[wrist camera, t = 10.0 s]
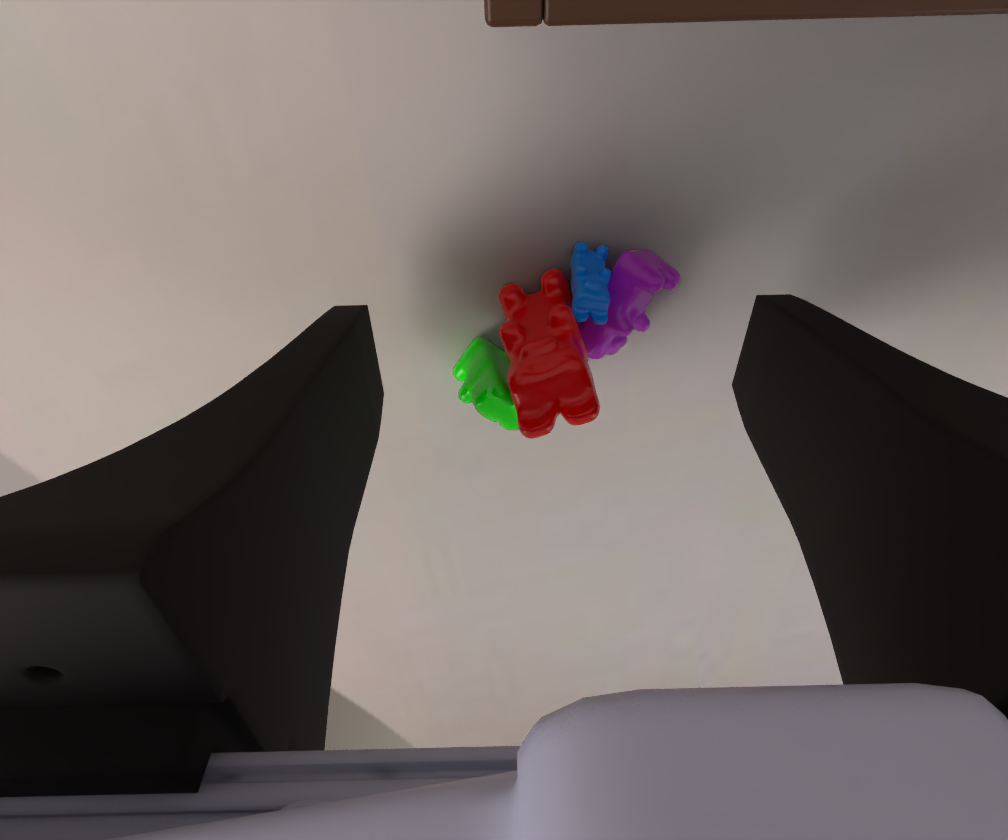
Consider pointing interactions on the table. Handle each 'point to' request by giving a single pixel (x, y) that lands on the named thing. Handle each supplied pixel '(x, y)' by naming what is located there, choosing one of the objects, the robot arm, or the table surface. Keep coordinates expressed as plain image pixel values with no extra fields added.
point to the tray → (717, 10)
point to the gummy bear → (560, 339)
